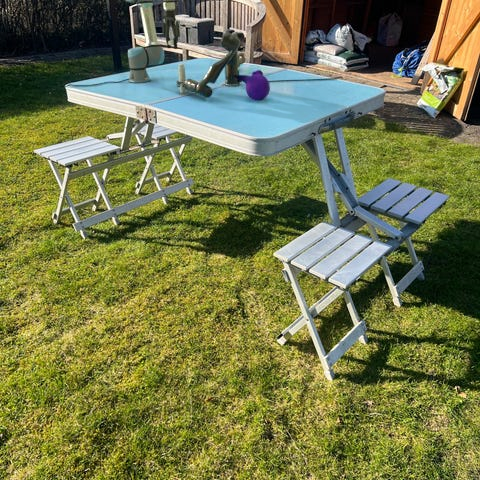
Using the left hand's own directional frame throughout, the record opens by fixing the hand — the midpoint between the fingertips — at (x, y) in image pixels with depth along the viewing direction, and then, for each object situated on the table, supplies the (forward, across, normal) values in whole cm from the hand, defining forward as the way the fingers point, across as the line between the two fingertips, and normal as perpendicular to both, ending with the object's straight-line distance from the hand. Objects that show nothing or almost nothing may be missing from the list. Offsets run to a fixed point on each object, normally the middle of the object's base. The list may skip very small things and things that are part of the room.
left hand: (172, 48), depth 302 cm
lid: (-4, 0, 0) cm, 4 cm away
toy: (+25, +64, -6) cm, 69 cm away
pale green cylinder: (+26, +13, -9) cm, 30 cm away
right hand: (+19, +10, -7) cm, 23 cm away
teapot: (+27, +4, +76) cm, 81 cm away
